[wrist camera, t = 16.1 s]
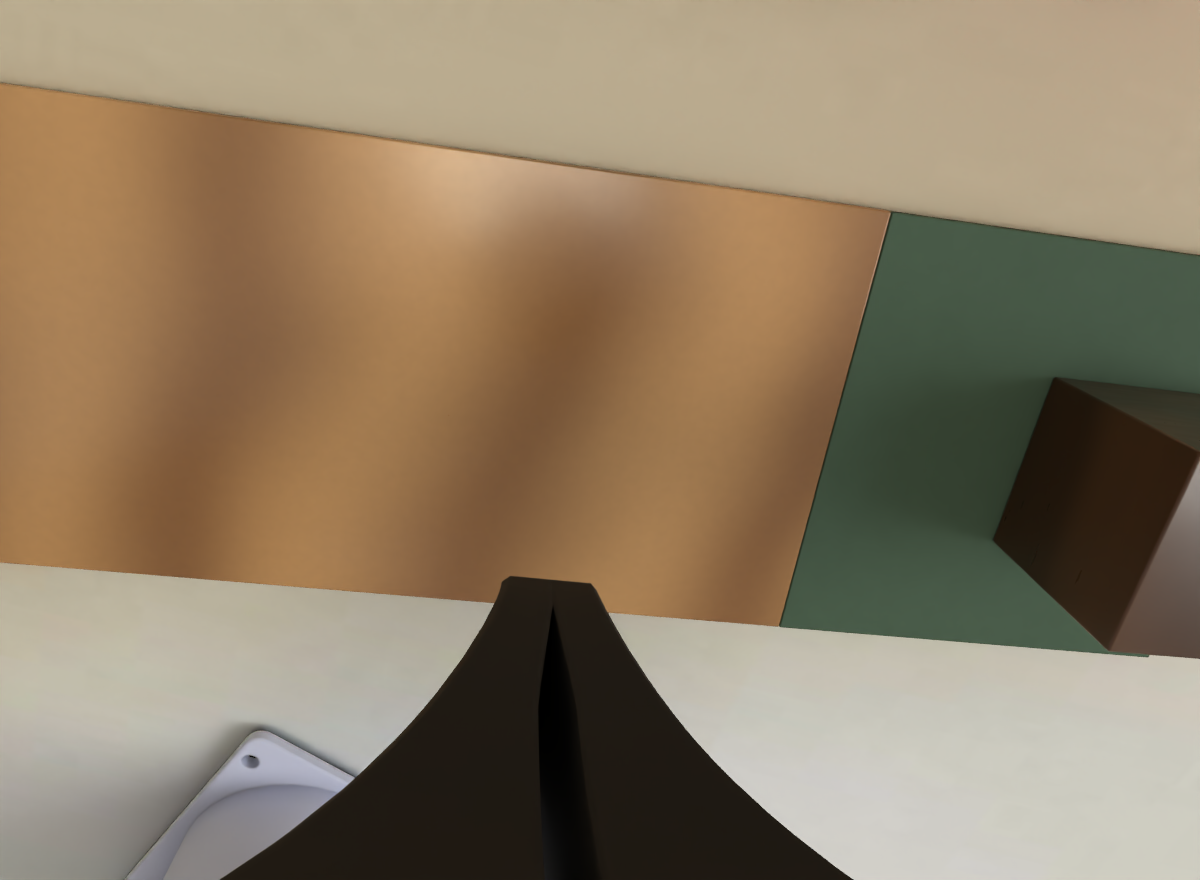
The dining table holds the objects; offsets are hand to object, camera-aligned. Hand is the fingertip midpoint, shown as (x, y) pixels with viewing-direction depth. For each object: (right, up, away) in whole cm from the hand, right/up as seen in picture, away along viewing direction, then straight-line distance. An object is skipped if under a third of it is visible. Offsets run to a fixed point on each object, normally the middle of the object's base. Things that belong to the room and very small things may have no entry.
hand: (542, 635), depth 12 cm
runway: (-9, +5, +8) cm, 13 cm away
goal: (+13, +2, +10) cm, 17 cm away
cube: (+15, +2, +10) cm, 18 cm away
